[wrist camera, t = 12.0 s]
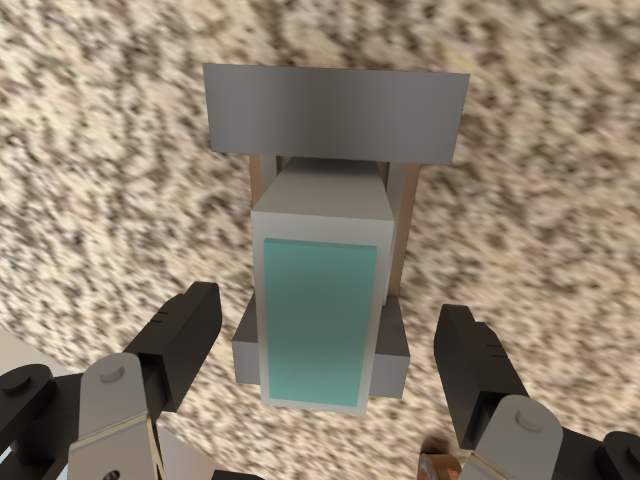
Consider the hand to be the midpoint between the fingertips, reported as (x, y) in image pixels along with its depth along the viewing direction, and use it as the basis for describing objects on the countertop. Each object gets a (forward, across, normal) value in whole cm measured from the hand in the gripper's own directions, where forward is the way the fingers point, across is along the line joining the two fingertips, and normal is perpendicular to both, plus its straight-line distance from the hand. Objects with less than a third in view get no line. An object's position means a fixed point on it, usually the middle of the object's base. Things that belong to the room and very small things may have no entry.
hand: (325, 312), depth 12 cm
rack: (+9, 0, 0) cm, 9 cm away
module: (+8, 0, 0) cm, 8 cm away
